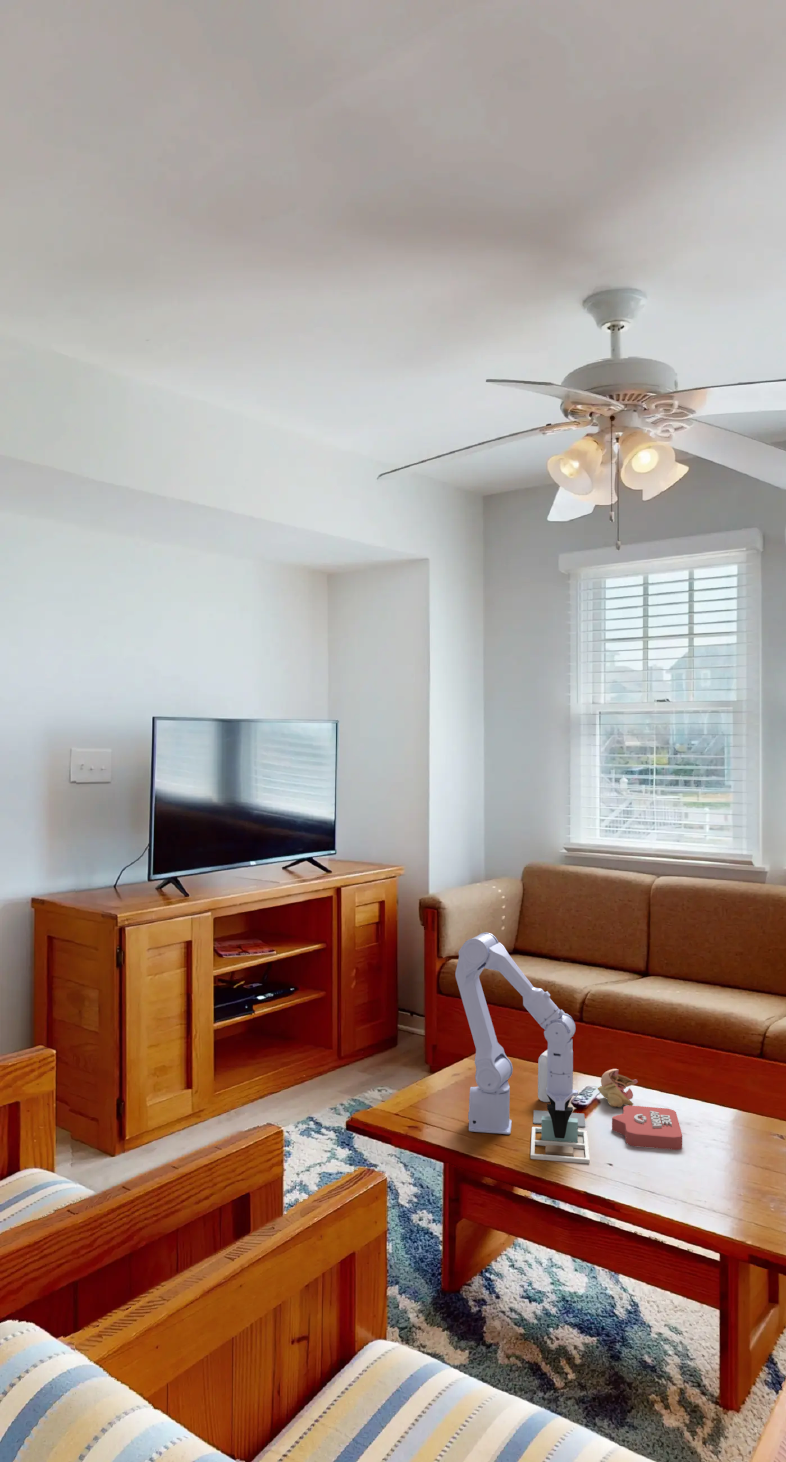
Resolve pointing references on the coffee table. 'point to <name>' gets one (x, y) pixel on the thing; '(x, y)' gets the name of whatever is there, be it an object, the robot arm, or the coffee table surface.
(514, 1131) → the coffee table surface
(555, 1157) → the rack
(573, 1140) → the pale teal block
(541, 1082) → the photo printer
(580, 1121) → the mat
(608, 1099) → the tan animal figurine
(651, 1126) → the plaque
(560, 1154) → the offcut stack
